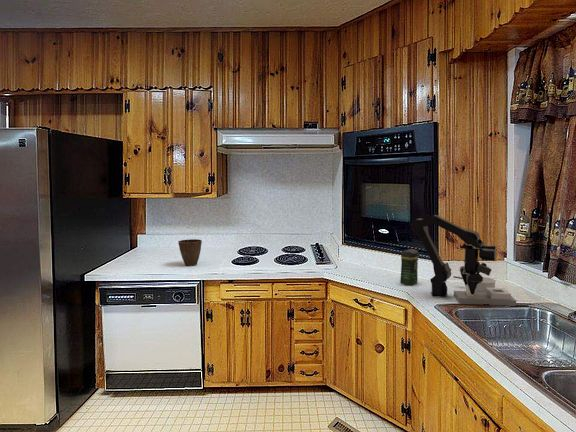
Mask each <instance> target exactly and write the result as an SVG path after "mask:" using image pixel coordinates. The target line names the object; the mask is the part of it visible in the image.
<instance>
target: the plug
mask: <svg viewBox="0 0 576 432" xmlns="http://www.w3.org/2000/svg"><path fill="white" fill-rule="evenodd" d="M465 291H466V296H474V295H472V294H471V293H470V290H469V287H468V284H467V285H466V286H465Z"/></svg>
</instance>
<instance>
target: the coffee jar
mask: <svg viewBox="0 0 576 432" xmlns="http://www.w3.org/2000/svg"><path fill="white" fill-rule="evenodd" d="M400 256H401V257H400V259H401V261H400V262H401V265H400V266H401V267H400V279H399V282H400V284H402V285H404V286H414V285H416V284H418V282H419V280H418V279H419V277H418V276H419V275H418V268H419V267H418V264H419V263H418V262H419V251H418V250H417V249H413V248H408V249H406V250H402V251H401V254H400Z"/></svg>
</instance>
